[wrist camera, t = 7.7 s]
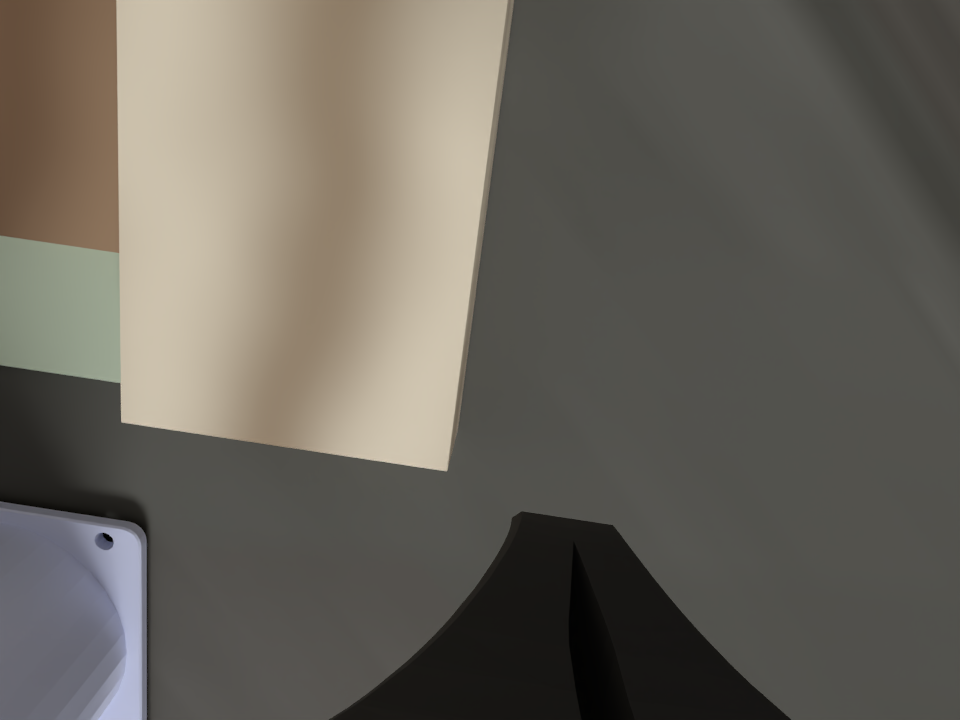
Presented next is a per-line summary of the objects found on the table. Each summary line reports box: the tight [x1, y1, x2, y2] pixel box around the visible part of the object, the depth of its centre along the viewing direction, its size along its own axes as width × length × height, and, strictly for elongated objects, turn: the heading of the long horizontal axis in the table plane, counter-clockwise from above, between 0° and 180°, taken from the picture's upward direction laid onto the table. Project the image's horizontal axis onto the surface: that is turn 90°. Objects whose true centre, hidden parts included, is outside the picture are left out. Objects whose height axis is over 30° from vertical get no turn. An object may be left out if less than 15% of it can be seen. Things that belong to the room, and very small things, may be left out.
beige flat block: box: [116, 0, 514, 471], centre depth 17 cm, size 8×16×2 cm, turn 173°
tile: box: [0, 0, 119, 253], centre depth 17 cm, size 6×9×2 cm, turn 172°
